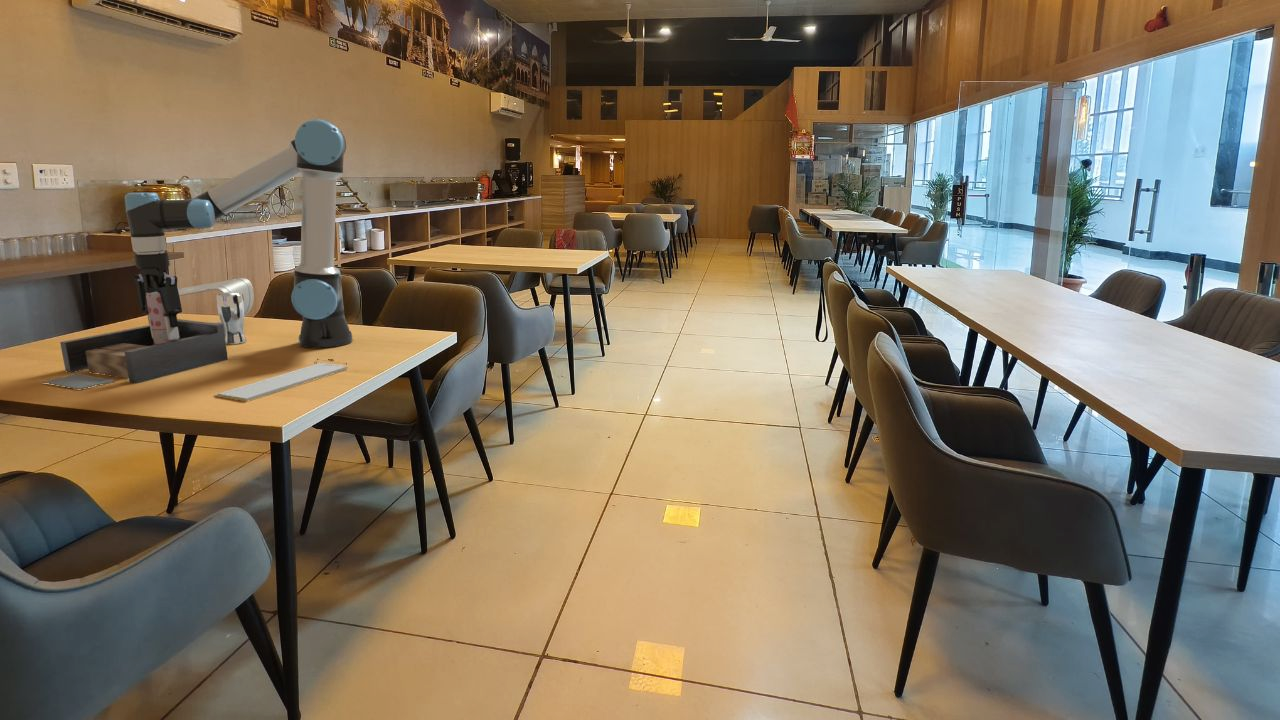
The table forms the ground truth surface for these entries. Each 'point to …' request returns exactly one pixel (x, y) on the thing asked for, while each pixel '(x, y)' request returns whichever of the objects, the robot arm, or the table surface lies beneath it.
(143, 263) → the robot arm
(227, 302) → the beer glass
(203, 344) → the tray
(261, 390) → the baseboard molding
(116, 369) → the offcut slab
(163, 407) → the table surface
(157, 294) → the beverage can
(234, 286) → the portable electronic device stand
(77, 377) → the mat
